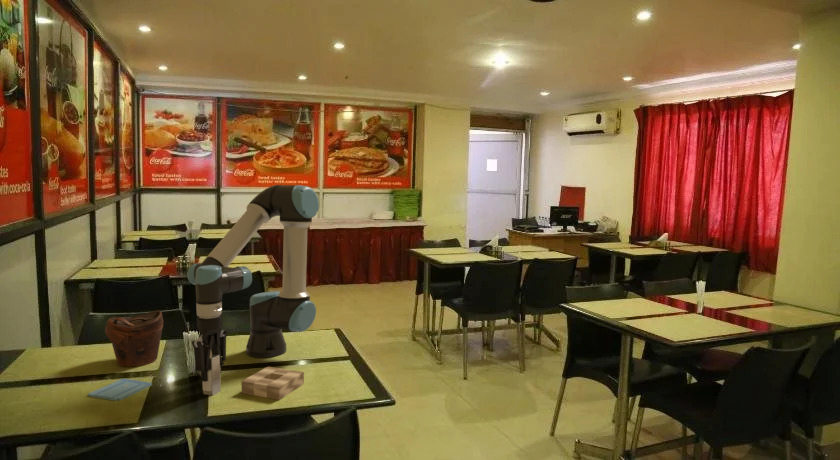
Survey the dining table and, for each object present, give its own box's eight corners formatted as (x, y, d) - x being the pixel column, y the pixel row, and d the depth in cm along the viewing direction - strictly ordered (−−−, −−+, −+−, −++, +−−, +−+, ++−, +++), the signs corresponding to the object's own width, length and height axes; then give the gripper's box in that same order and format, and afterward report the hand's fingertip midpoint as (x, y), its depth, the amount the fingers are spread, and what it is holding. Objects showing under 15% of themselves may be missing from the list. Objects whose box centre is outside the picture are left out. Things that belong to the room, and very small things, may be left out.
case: (93, 366, 196) (92, 317, 194) (140, 350, 215) (139, 304, 213) (131, 374, 190) (130, 323, 188) (175, 356, 208) (175, 310, 206)
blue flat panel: (118, 402, 168) (118, 398, 167) (87, 397, 171) (87, 393, 171) (152, 386, 180) (152, 382, 180) (123, 381, 184) (123, 378, 184)
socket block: (268, 377, 188) (267, 366, 187) (303, 383, 183) (303, 372, 182) (241, 393, 175) (241, 381, 174) (279, 400, 170) (279, 387, 169)
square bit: (211, 389, 177) (210, 353, 176) (220, 391, 176) (219, 354, 175) (203, 393, 174) (202, 356, 172) (212, 395, 172) (211, 358, 171)
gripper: (200, 323, 163) (202, 399, 166) (237, 310, 179) (238, 380, 181) (180, 320, 166) (182, 396, 168) (218, 308, 181) (220, 377, 184)
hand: (211, 387), depth 175 cm, fingers closed on square bit, 4 cm apart
